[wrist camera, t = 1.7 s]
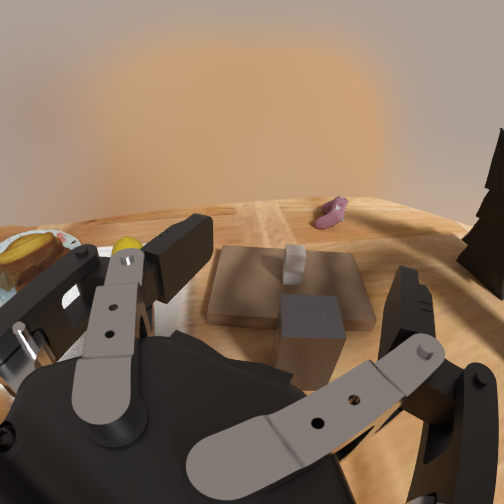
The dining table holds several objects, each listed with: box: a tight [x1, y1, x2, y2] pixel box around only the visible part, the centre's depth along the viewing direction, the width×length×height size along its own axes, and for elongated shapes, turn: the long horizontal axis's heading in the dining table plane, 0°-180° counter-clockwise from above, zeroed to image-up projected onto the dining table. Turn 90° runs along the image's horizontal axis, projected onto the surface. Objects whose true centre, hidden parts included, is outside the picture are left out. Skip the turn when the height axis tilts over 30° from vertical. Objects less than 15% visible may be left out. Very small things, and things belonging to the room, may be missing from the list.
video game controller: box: [314, 196, 348, 229], centre depth 63 cm, size 10×5×7 cm, turn 158°
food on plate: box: [0, 229, 82, 307], centre depth 43 cm, size 25×25×7 cm
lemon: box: [111, 236, 143, 256], centre depth 42 cm, size 6×6×8 cm
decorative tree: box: [456, 128, 504, 301], centre depth 39 cm, size 15×15×35 cm
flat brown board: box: [207, 244, 376, 331], centre depth 43 cm, size 22×16×7 cm
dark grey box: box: [273, 294, 346, 391], centre depth 30 cm, size 6×6×9 cm
